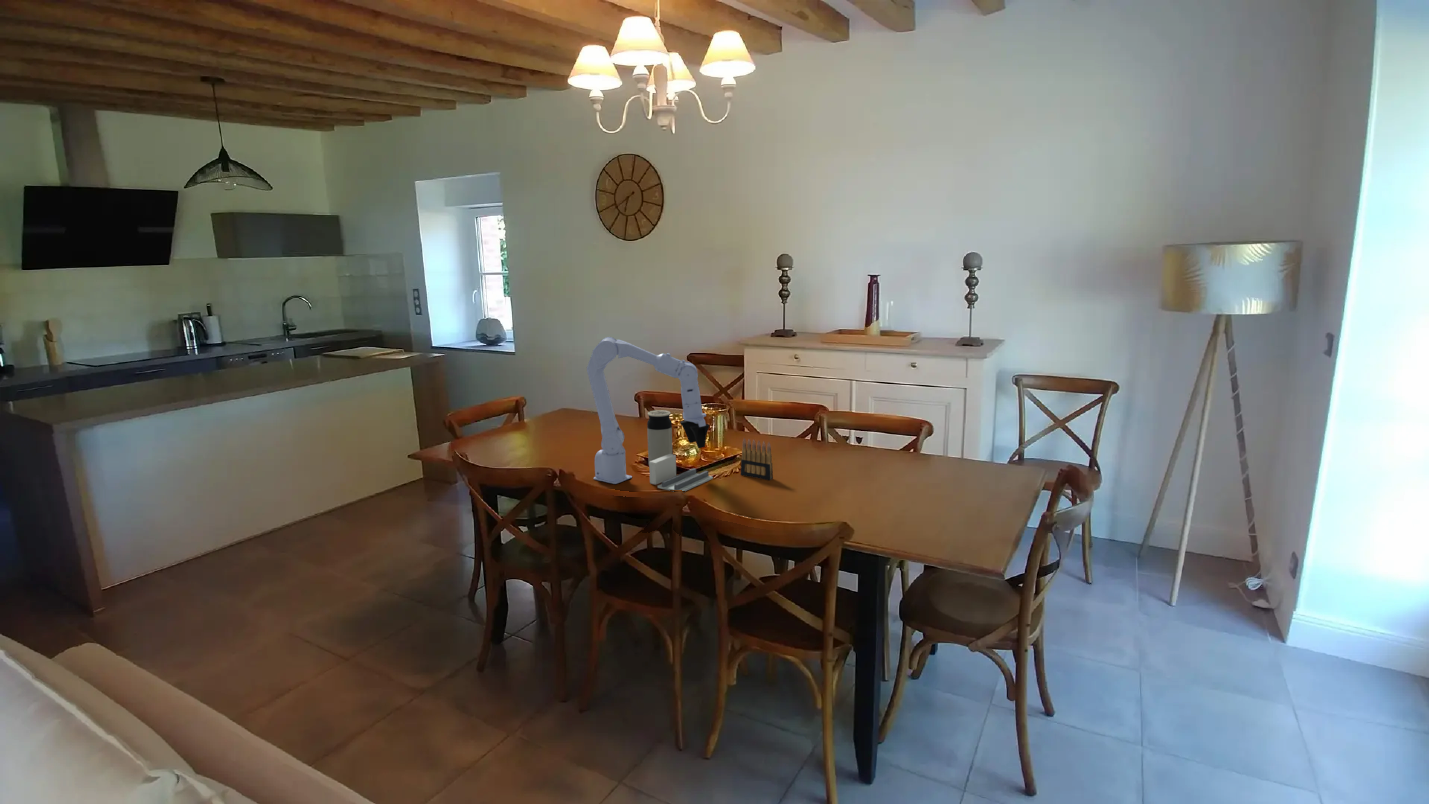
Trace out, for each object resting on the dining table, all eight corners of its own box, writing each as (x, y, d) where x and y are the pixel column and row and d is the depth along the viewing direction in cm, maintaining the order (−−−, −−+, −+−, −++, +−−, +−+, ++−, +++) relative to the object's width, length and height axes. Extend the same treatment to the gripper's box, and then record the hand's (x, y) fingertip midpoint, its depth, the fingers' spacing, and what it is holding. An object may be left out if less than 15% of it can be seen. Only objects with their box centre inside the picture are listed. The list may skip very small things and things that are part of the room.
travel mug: (671, 469, 237) (670, 415, 233) (647, 469, 237) (645, 415, 234) (673, 461, 245) (672, 409, 241) (650, 462, 245) (648, 410, 241)
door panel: (649, 483, 223) (649, 461, 222) (670, 475, 231) (669, 453, 230) (655, 484, 222) (655, 462, 221) (676, 476, 230) (675, 455, 229)
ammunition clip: (740, 474, 230) (740, 438, 228) (743, 473, 232) (743, 436, 229) (770, 480, 224) (770, 442, 222) (773, 478, 226) (773, 441, 223)
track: (657, 487, 219) (657, 481, 219) (689, 473, 232) (689, 467, 231) (681, 493, 214) (681, 486, 214) (712, 478, 227) (712, 472, 226)
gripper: (712, 403, 218) (717, 446, 221) (695, 396, 231) (700, 437, 234) (690, 408, 216) (696, 451, 219) (674, 400, 229) (679, 441, 232)
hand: (696, 444), depth 226 cm, fingers open, 7 cm apart
